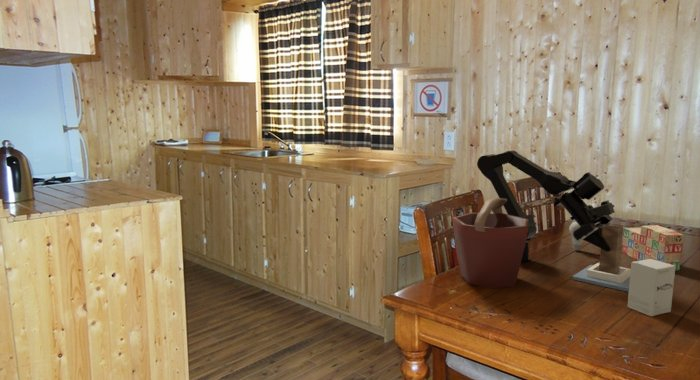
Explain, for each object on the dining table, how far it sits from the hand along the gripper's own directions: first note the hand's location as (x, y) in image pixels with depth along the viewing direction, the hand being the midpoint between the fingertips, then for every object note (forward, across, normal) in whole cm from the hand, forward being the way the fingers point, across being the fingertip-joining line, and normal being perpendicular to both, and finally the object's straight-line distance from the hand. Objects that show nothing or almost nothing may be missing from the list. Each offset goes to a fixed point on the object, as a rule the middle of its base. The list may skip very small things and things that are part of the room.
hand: (612, 249), depth 157 cm
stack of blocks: (+10, +29, +4) cm, 31 cm away
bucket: (-12, -24, +26) cm, 37 cm away
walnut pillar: (+5, 0, +5) cm, 7 cm away
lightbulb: (-6, +25, +20) cm, 33 cm away
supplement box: (+18, -18, -4) cm, 26 cm away
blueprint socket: (+6, 0, +7) cm, 9 cm away
